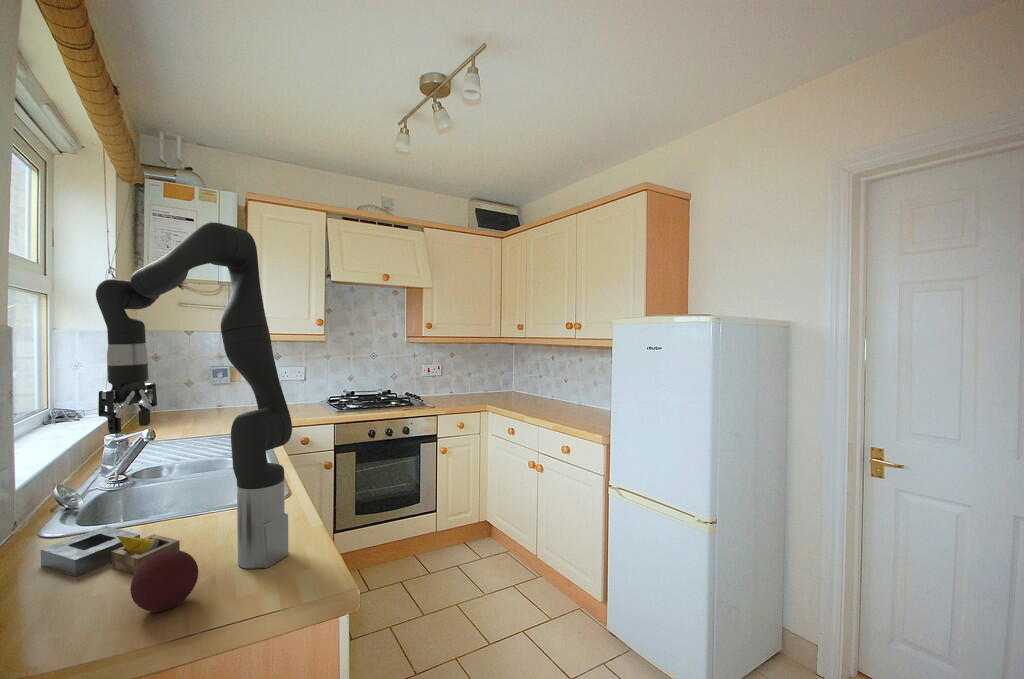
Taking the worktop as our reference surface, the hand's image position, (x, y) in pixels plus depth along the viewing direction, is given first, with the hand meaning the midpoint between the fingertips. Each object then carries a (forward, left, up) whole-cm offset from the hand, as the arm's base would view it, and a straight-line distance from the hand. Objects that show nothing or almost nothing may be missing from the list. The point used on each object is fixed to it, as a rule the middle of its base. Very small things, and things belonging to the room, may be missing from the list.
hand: (130, 429), depth 111 cm
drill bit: (-17, +8, -26) cm, 32 cm away
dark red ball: (-37, +16, -26) cm, 48 cm away
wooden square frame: (-17, +7, -26) cm, 32 cm away
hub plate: (-4, +10, -26) cm, 28 cm away
